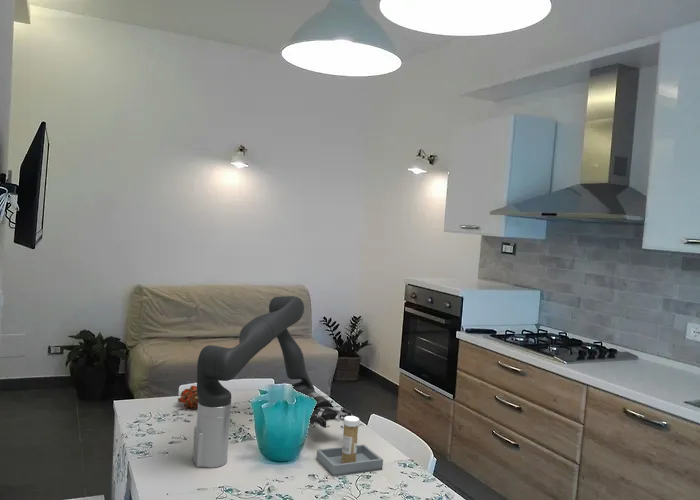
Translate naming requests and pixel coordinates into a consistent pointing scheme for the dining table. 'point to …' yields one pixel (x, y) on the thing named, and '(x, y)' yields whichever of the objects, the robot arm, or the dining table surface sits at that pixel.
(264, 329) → the robot arm
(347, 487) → the dining table surface
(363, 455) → the box
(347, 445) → the sprinkles bottle
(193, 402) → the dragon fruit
